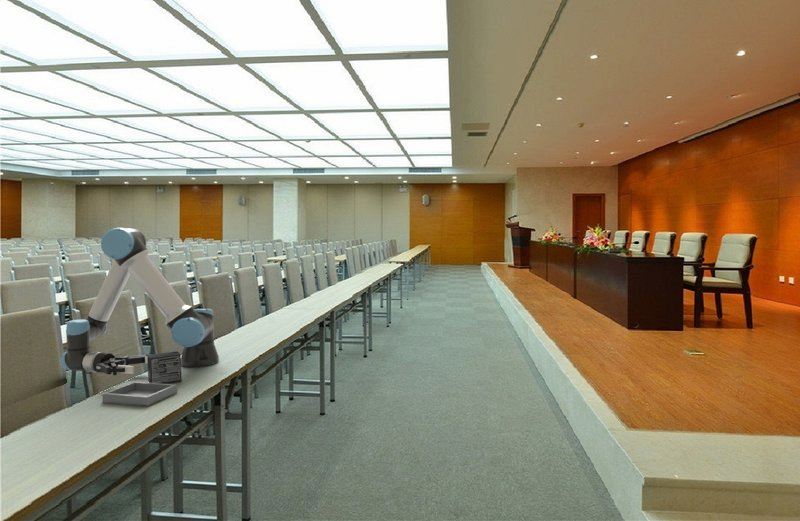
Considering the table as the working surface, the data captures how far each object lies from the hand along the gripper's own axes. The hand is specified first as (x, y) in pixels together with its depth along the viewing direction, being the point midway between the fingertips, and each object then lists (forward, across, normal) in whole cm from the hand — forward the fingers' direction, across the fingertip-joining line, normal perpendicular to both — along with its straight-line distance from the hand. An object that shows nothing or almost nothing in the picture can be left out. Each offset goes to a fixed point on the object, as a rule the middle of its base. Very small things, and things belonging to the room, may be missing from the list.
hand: (147, 365), depth 188 cm
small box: (+7, 0, -6) cm, 9 cm away
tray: (+12, +18, -6) cm, 22 cm away
